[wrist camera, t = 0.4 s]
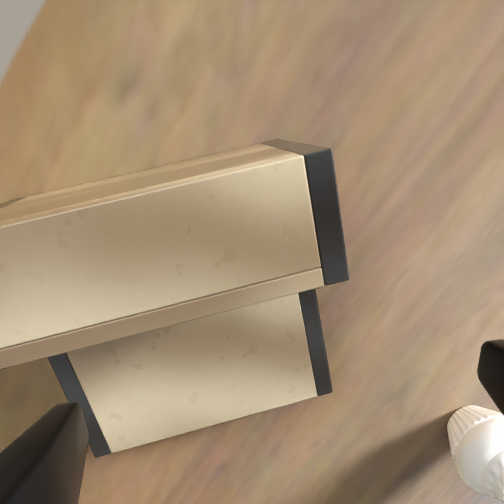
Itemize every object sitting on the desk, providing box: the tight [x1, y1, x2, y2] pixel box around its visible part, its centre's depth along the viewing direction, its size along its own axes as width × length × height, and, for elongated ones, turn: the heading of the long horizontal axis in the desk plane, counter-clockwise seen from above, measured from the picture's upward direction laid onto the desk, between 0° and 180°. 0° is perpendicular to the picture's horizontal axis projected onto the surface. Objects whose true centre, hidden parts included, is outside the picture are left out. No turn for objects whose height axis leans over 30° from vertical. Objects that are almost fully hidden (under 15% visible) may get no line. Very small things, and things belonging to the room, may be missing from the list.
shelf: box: [0, 139, 349, 457], centre depth 19 cm, size 16×15×9 cm
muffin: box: [447, 405, 504, 503], centre depth 27 cm, size 6×6×7 cm
